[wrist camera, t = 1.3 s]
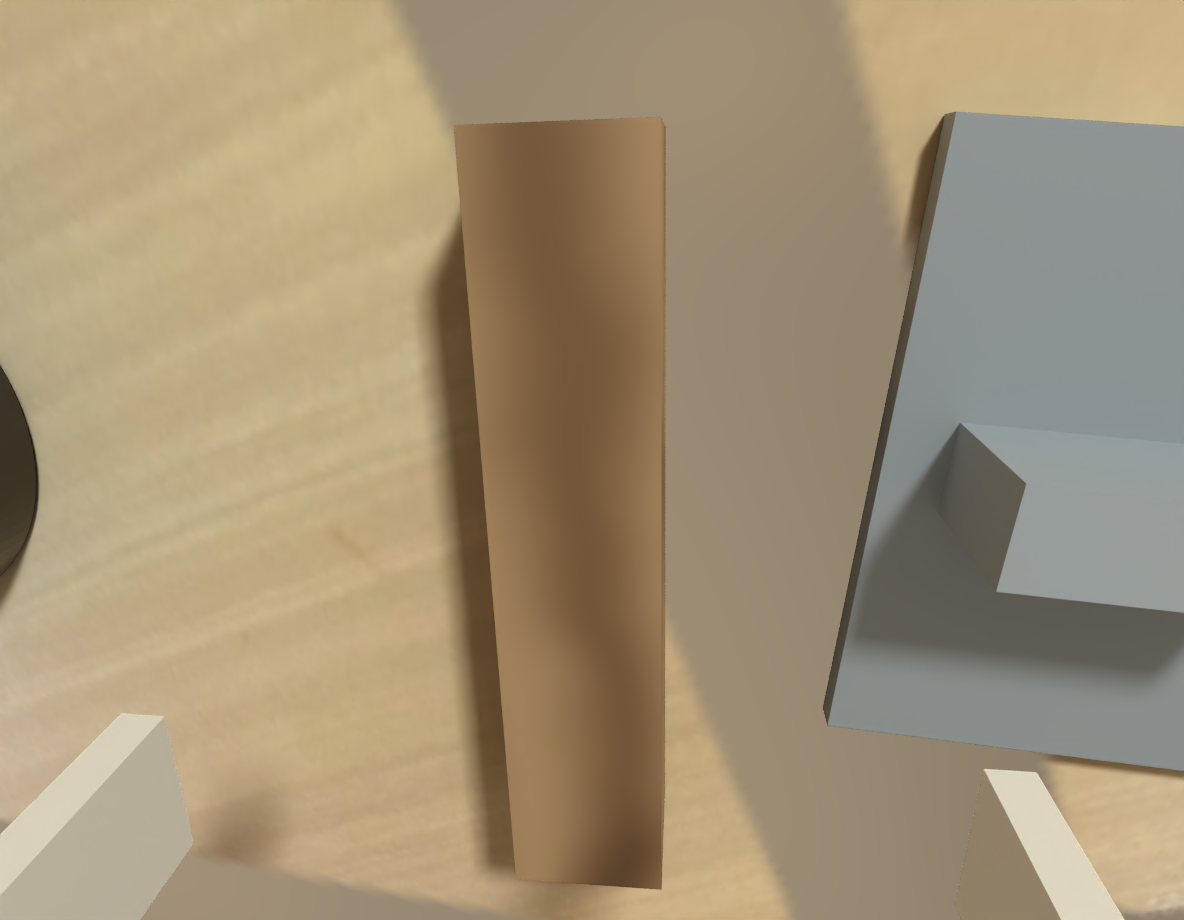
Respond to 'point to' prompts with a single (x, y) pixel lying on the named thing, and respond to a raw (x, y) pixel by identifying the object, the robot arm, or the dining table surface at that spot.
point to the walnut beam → (574, 479)
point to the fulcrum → (1031, 455)
